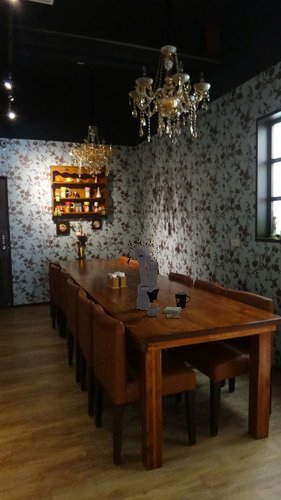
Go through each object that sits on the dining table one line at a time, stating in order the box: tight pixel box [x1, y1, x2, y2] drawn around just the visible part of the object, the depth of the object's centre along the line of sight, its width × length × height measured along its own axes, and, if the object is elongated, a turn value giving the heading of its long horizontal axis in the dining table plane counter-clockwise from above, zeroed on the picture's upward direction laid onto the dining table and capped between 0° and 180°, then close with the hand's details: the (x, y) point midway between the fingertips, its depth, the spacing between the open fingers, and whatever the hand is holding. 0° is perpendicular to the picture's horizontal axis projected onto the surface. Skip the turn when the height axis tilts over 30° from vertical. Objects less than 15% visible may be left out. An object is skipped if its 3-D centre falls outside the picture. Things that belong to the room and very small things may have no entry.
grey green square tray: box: [163, 306, 182, 315], centre depth 224 cm, size 10×10×2 cm
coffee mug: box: [174, 291, 192, 309], centre depth 235 cm, size 12×9×10 cm
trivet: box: [165, 313, 181, 320], centre depth 211 cm, size 8×8×1 cm
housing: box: [146, 306, 161, 317], centre depth 216 cm, size 7×4×5 cm, turn 72°
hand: (153, 301), depth 216 cm, fingers open, 7 cm apart
